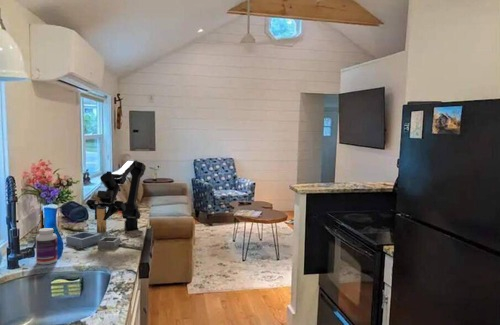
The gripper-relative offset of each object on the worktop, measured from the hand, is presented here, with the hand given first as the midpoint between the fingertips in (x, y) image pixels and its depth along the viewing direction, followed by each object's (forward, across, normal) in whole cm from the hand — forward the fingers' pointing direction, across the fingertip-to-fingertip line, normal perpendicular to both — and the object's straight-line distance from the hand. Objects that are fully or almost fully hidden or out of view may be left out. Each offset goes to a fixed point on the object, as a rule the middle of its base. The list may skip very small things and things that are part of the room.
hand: (100, 219), depth 183 cm
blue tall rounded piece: (-2, -36, +21) cm, 42 cm away
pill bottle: (+27, -11, -8) cm, 30 cm away
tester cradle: (+8, +4, +11) cm, 14 cm away
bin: (+7, -11, +12) cm, 18 cm away
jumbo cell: (+4, 0, +6) cm, 7 cm away
